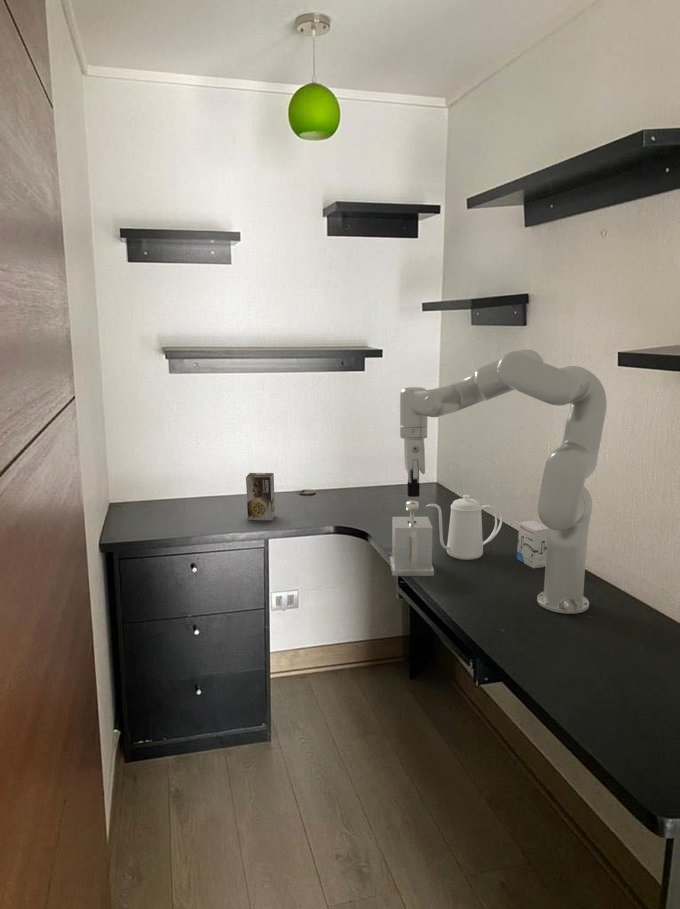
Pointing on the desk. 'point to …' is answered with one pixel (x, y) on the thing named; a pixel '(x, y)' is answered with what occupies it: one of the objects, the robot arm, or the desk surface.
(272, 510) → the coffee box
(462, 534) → the coffeepot
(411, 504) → the plunger
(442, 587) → the desk surface
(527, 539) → the ink box
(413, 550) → the grey cube on plinth
